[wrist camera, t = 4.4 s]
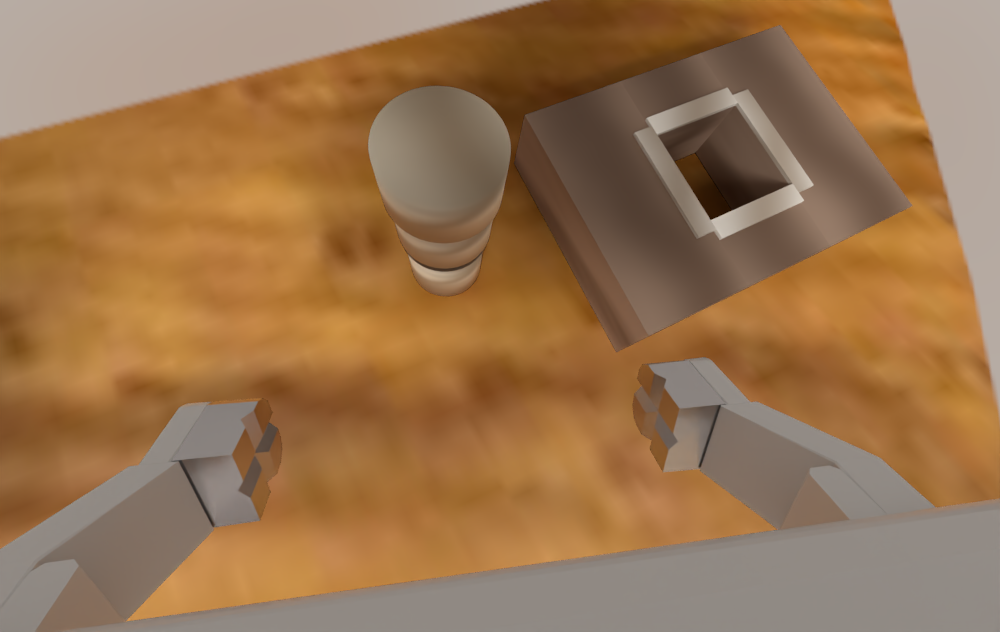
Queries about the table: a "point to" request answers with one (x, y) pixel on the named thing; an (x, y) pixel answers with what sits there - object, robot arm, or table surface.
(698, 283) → the peg board
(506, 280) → the table surface
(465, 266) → the peg
